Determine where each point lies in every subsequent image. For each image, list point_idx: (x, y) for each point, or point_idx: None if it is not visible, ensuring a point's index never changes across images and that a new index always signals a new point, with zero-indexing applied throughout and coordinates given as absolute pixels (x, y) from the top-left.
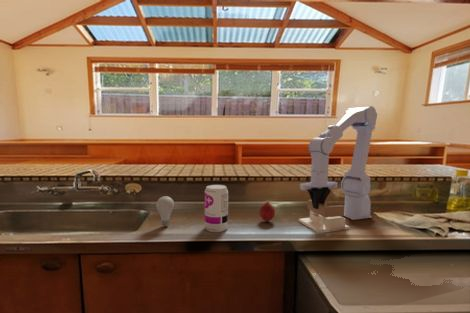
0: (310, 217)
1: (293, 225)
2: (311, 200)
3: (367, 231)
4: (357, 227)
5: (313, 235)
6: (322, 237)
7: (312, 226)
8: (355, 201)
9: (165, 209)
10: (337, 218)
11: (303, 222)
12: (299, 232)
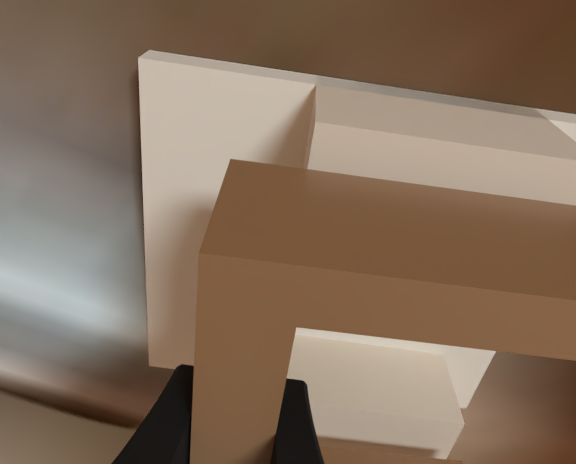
0: (311, 107)
1: (21, 132)
2: (249, 315)
3: (533, 449)
4: (559, 392)
5: (99, 355)
6: (145, 395)
7: (155, 297)
8: None
9: None
10: (372, 446)
11: (144, 162)
12: (12, 281)
